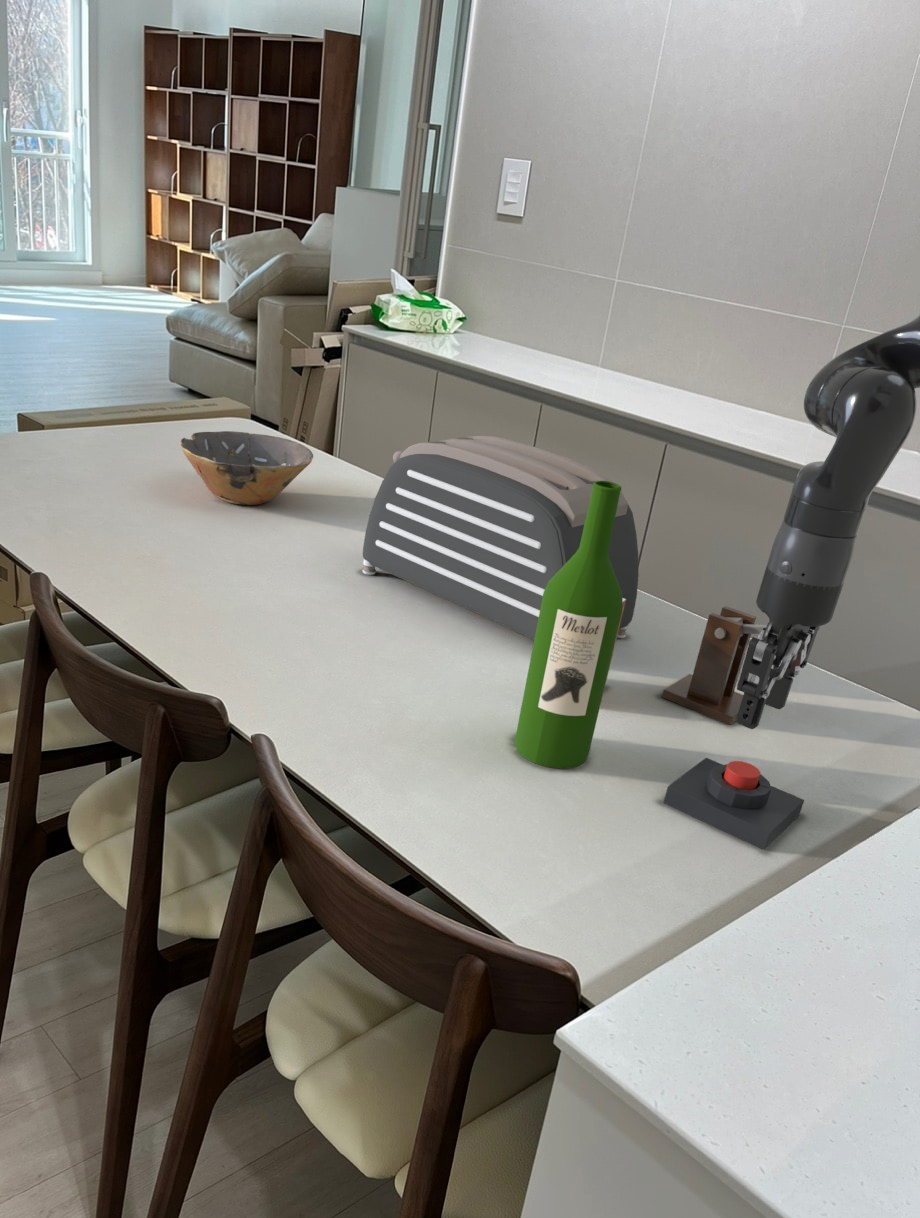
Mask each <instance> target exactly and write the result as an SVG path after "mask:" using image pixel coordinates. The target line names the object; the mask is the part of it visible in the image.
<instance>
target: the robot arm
mask: <svg viewBox="0 0 920 1218" xmlns="http://www.w3.org/2000/svg"><path fill="white" fill-rule="evenodd" d="M916 389H920V314H919V315H917V316H915V318H913V319H912V320H910V321H908V322H907V323H905V324H902V325H900V326H897V327H895V328H892V329H889V330H886V331H884V332H882V333H881V334H878V335H876V336H874V337H872V338H869V339H868V340H866V341H863V342H861V343H859V344H857V345H855V346H853V347H851V348H849V349H847V350H845V351H843V352H841V353H839V354H838V355H837V356H835V357H834V358H832V359H831V360H829V361H828V362H827V363H826V364H825V365H823V367H821V368H820V370H819V371H818V372H817V373H816V374H815V375H814V376H813V378H812V379H811V381H810V382H809V384H808V386H807V388H806V390H805V394H804V397H803V410H804V414H805V417H806V419H807V420H808V422H809V423H810V424H811V425H813V427H815V428H816V429H817V430H819V431H821V432H823V433H825V434H827V435H829V436H832V437H834V438H835V441H834V444H833V445H832V447H831V449H830V451H829V453H828V454H827V456H826V458H825V459H824V461H821V460H820V461H813V462H809V463H807V464H805V465H803V466H802V467H801V468H800V470H799V471H798V473H797V475H796V478H795V480H794V483H793V485H792V489H791V493H790V496H789V498H788V502H787V505H786V509H785V512H784V516H783V519H782V521H781V524H780V526H779V529H778V531H777V533H776V535H775V538H774V540H773V543H772V546H771V549H770V553H769V556H768V560H767V563H766V567H765V570H764V573H763V577H762V579H761V583H760V586H759V590H758V592H757V597H756V600H755V602H756V606H757V608H758V609H759V611H761V612H762V613H764V614H765V615H766V616H767V618H768V619H769V622H767V624H766V625H767V627H764V628H763V629H762V631H761V633H760V634H758V637H753V636H752V638H750V640H749V643H748V647H747V650H746V653H745V657H744V660H743V663H742V667H741V670H740V674H739V677H738V681H737V683H736V690H737V691H739V692H741V693H743V698H742V702H741V705H740V708H739V711H738V715H737V718H736V721H735V722H736V723H737V724H738V725H739V726H742V727H744V728H747V729H749V730H754V729H756V728H757V727H759V725H760V722H761V719H762V716H763V712H764V709H765V706H768V707H770V708H773V709H776V710H782V709H783V708H784V707H785V706H786V703H787V700H788V697H789V694H790V691H791V688H792V685H793V682H794V679H797V676H799V674H800V669H804V668H805V667H806V666H807V664H808V660H809V657H810V654H811V651H812V648H813V646H814V643H815V640H816V637H817V635H818V632H819V630H820V628H819V626H820V627H821V626H824V625H827V624H829V623H830V622H831V621H832V619H833V617H834V614H835V611H836V608H837V605H838V602H839V599H840V596H841V593H842V591H843V587H844V584H845V581H846V578H847V575H848V573H849V569H850V566H851V565H852V564H851V563H852V560H853V556H854V551H855V546H856V542H857V541H856V540H857V537H858V534H859V531H860V528H861V526H862V522H863V519H864V517H865V513H866V511H867V507H868V504H869V500H870V497H871V495H872V493H873V492H874V490H875V488H876V487H877V486H878V484H879V483H880V482H881V480H882V478H883V477H884V476H885V474H886V472H887V471H888V469H889V467H890V466H891V465H892V463H893V461H894V459H895V458H896V456H897V455H898V454H899V452H900V450H901V449H902V447H903V446H904V444H905V442H906V440H907V438H908V436H909V435H910V433H911V431H912V428H913V426H914V422H915V420H916V415H917V405H918V403H917V401H918V400H917V393H916ZM818 629H819V630H818ZM757 677H758V678H759V679H758V683H757V682H755V680H756V678H757Z"/></svg>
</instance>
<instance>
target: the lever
mask: <svg viewBox="0 0 920 1218" xmlns="http://www.w3.org/2000/svg"><path fill="white" fill-rule="evenodd" d="M726 618H729V619H731V620H734V621H737V622H740V623H743V618H733V617H726ZM764 627H767V624H755V623H754V624H744V626H743V629H742V633H741V636H743V633H745V634H751V635H760V633H761V631H762V629H763V628H764ZM820 628H821V626H819V629H818V631H819V630H820ZM741 636H740V637H741Z"/></svg>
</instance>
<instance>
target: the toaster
mask: <svg viewBox="0 0 920 1218" xmlns="http://www.w3.org/2000/svg"><path fill="white" fill-rule="evenodd" d="M392 461H393V463H392V465H391V466H389V468H388V470H387V471H386V474H385V476H384V478H383V480H382V482H381V483H380V486H379V489H378V490H377V493H376V495H375V497H374V501H373V503H372V505H371V509H370V513H369V515H368V519H367V524H366V528H365V533H364V540H363V546H362V558H363V562H362V564H363V565H364V567H363V568H362V573H363V574H365V575H368V576H373V575H376V573H377V569H379V570H381V571H384V572H386V573H388V574H389V575H390V574H391V575H393V576H394V577H397V578H399V579H401V580H403V581H405V582H407V583H410V584H412V585H414V586H417V587H419V588H421V589H423V590H425V591H428V592H429V593H432V594H434V595H436V596H438V597H440V598H443V599H445V600H447V601H450V602H451V603H454V604H455V605H458V606H459V607H462V608H464V609H467V610H469V611H471V612H474V613H475V614H477V615H480V616H481V617H484V618H486V619H488V620H491V621H492V622H495V623H497V624H499V625H500V626H504V627H506V628H508V629H510V630H512V631H514V632H517V633H519V634H521V635H523V636H525V637H527V638H530V639H532V640H534V639H535V634H536V629H537V624H538V618H539V613H540V608H541V603H542V598H543V593H544V591H545V588H546V586H547V584H548V582H549V580H550V579H551V578H552V577H553V576H554V575H555V574H556V573H557V572H558V571H559V570H560V569H561V568H562V567H563V566H564V565H565V564H566V563H567V562H568V561H569V560H570V558H571V557H572V556H573V555H574V554H575V553H576V552H577V550H578V549H579V547H580V542H581V538H582V533H583V529H584V524H585V520H586V516H587V511H588V507H589V502H590V498H591V493H592V489H593V483H594V482H596V481H609V482H613V481H612V480H611V479H609V478H608V477H606V476H605V475H603V474H601V473H600V472H599V471H597V470H595V469H594V468H592V467H590V466H589V465H585V464H584V463H583V464H582V463H581V462H578V461H575V460H573V459H571V458H569V457H566V456H563V455H561V454H557V453H555V452H552V451H549V450H546V449H543V448H540V447H537V446H533V445H529V444H526V443H523V442H519V441H515V440H513V439H508V438H503V437H499V436H495V435H494V436H493V435H469V436H460V437H454V438H450V439H442V440H431V441H426V442H425V441H424V442H418V443H415V444H412V445H409V446H408V447H407V448H405V450H404V451H403V450H398V451H395V452H394V453H393V455H392ZM637 535H638V534H637V530H636V524H635V519H634V513H633V511H632V509H631V507H630V505H629V503H628V501H627V498H626V497H625V495H624V494H623V492H622V490H621V491H620V496H619V501H618V506H617V511H616V516H615V521H614V526H613V530H612V535H611V540H610V545H609V550H608V556H609V560H610V563H611V565H612V568H613V570H614V573H615V576H616V578H617V581H618V583H619V586H620V589H621V591H622V598H624V599H626V602H625V606H624V610H623V615H622V619H621V623H620V627H619V631H618V635H617V639H618V638H620V639H624V638H626V637H627V632H626V630H627V629H629V625H630V624H631V622H632V621H633V617H634V614H635V608H636V602H637V597H638V586H639V576H640V575H639V573H640V571H639V548H638V538H637V537H638V536H637ZM376 568H377V569H376Z"/></svg>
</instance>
